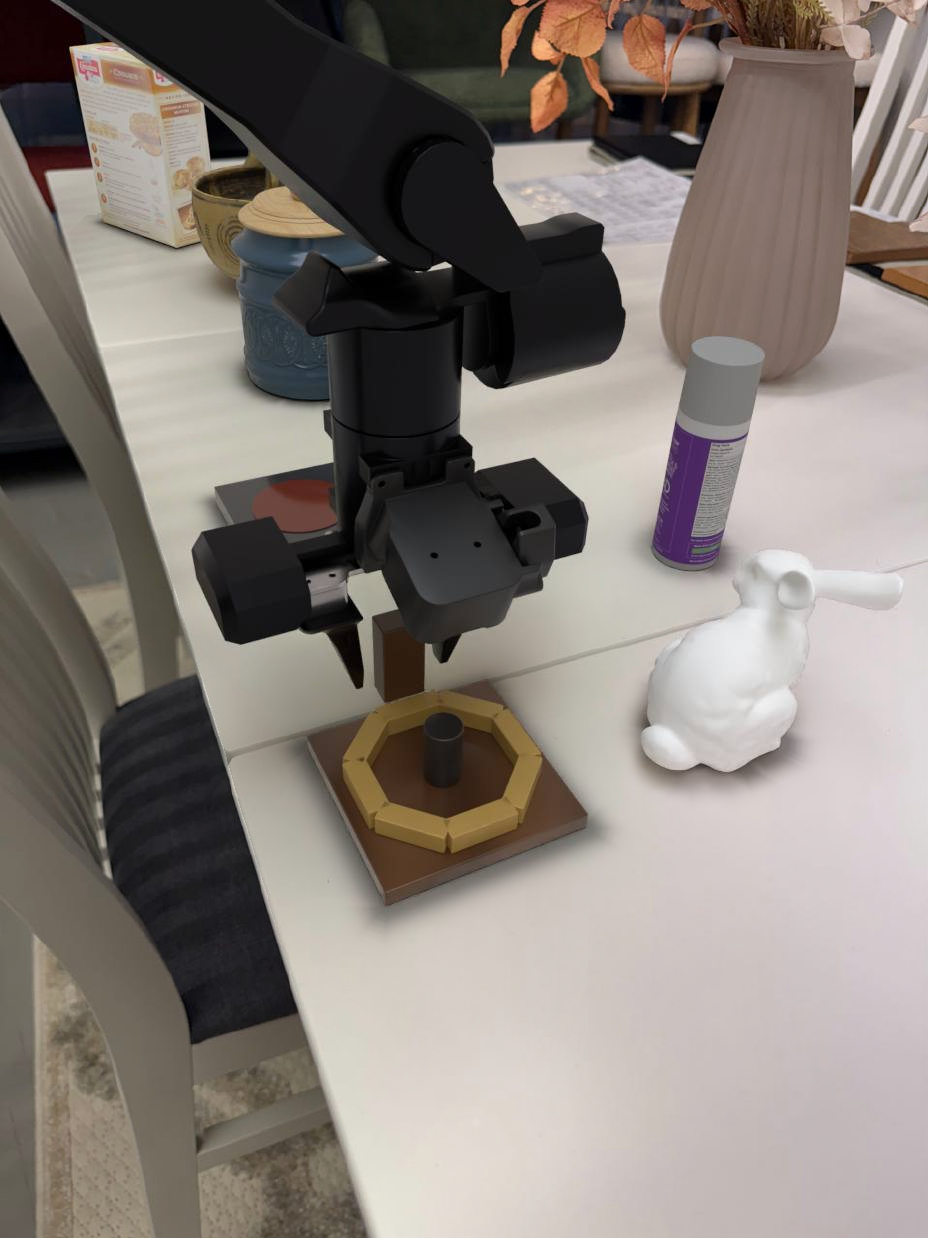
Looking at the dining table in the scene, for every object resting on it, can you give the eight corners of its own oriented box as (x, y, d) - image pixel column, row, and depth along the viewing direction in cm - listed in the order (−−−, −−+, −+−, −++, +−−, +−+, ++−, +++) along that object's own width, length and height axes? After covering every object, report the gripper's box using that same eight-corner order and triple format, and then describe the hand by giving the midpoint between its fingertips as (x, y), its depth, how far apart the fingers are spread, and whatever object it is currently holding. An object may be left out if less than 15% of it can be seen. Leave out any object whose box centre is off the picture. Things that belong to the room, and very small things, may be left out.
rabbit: (721, 650, 59) (766, 484, 52) (859, 732, 54) (932, 560, 46) (595, 745, 53) (626, 569, 45) (738, 848, 47) (800, 669, 40)
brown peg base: (385, 906, 44) (383, 845, 41) (307, 748, 52) (301, 687, 49) (586, 827, 48) (597, 766, 45) (486, 691, 56) (490, 631, 53)
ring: (393, 876, 44) (391, 788, 40) (313, 720, 52) (304, 633, 48) (569, 809, 48) (583, 721, 44) (469, 672, 55) (474, 587, 51)
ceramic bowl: (377, 316, 100) (373, 161, 90) (212, 329, 96) (190, 168, 86) (339, 248, 116) (332, 111, 107) (196, 256, 112) (176, 115, 103)
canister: (251, 344, 93) (229, 148, 82) (384, 343, 94) (380, 149, 83) (240, 404, 83) (214, 189, 72) (389, 402, 84) (385, 191, 73)
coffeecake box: (222, 236, 118) (200, 56, 106) (175, 249, 114) (147, 63, 101) (147, 211, 125) (119, 39, 113) (101, 222, 121) (65, 45, 109)
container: (638, 540, 68) (674, 340, 59) (693, 528, 70) (736, 331, 61) (674, 576, 65) (718, 370, 56) (731, 562, 67) (783, 360, 57)
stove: (256, 577, 63) (253, 557, 62) (216, 503, 70) (213, 485, 69) (393, 543, 67) (393, 524, 66) (343, 476, 74) (342, 458, 73)
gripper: (238, 552, 33) (278, 839, 43) (678, 449, 40) (625, 716, 49) (165, 415, 40) (213, 684, 50) (544, 348, 47) (521, 597, 57)
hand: (399, 671), depth 51 cm, fingers open, 5 cm apart
